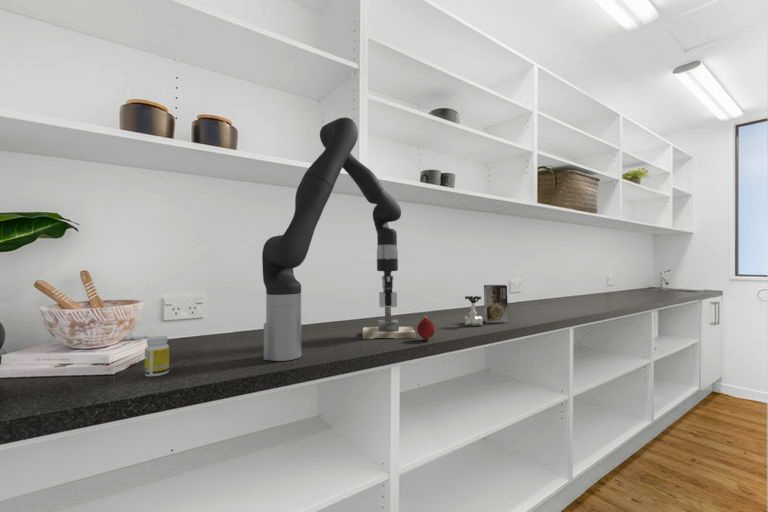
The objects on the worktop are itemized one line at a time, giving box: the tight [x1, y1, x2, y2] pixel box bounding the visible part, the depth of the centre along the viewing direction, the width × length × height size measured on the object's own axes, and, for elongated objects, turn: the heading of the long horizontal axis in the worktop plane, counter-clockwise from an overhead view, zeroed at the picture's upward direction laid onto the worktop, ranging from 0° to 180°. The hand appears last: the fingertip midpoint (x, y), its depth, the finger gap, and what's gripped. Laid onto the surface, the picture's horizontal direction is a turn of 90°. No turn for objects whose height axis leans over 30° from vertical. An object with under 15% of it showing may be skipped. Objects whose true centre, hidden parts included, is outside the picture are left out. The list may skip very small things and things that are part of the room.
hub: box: [378, 291, 398, 308], centre depth 127 cm, size 6×6×5 cm
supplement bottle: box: [144, 335, 170, 378], centre depth 82 cm, size 5×5×8 cm
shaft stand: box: [362, 307, 417, 340], centre depth 127 cm, size 18×12×15 cm, turn 93°
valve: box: [464, 295, 484, 327], centre depth 145 cm, size 7×7×12 cm
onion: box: [416, 315, 436, 341], centre depth 117 cm, size 6×6×8 cm
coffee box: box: [483, 284, 509, 324], centre depth 156 cm, size 9×6×16 cm
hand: (387, 304), depth 127 cm, fingers closed on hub, 6 cm apart
